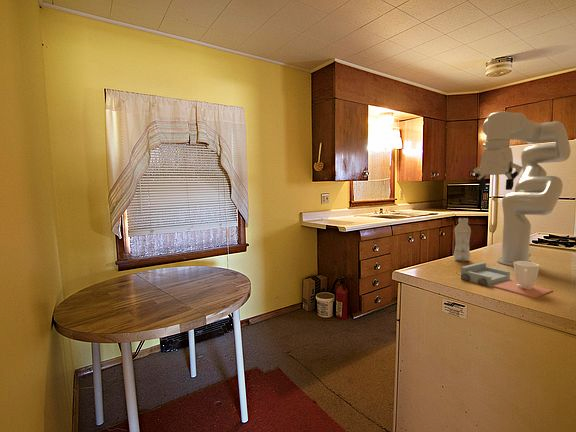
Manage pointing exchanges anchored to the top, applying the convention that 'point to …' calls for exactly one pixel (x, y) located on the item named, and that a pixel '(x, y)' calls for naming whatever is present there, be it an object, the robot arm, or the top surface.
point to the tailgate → (513, 287)
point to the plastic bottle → (462, 240)
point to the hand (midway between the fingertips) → (495, 189)
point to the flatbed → (484, 274)
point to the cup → (525, 273)
